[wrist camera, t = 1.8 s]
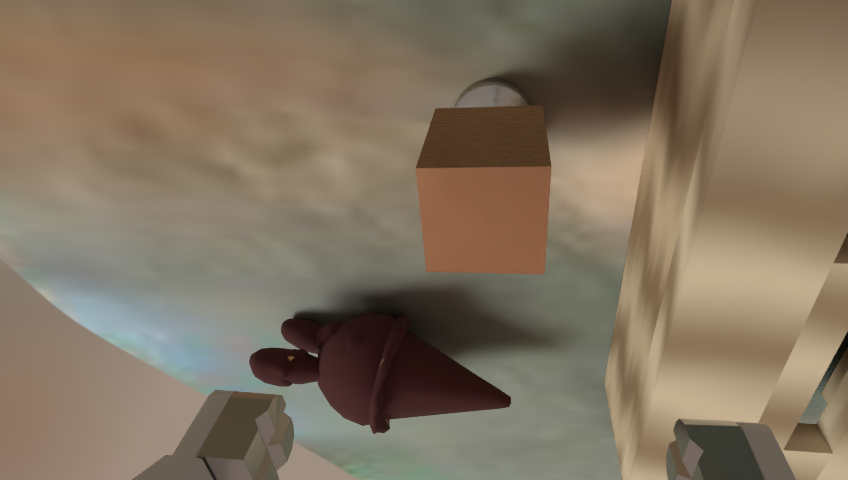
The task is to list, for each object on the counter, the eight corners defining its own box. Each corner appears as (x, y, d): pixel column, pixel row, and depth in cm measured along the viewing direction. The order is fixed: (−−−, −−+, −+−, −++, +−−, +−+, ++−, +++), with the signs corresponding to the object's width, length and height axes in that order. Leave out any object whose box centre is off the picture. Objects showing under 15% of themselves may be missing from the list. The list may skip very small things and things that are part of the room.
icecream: (525, 387, 24) (237, 315, 26) (493, 499, 27) (235, 427, 29) (526, 318, 31) (295, 264, 33) (500, 414, 33) (288, 359, 35)
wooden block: (446, 76, 23) (415, 168, 15) (537, 72, 22) (551, 166, 15) (451, 157, 25) (426, 271, 18) (534, 156, 24) (544, 274, 17)
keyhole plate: (679, -42, 19) (760, -6, 13) (1135, -77, 17) (1496, -54, 10) (604, 382, 32) (626, 497, 26) (849, 395, 30) (934, 524, 24)
